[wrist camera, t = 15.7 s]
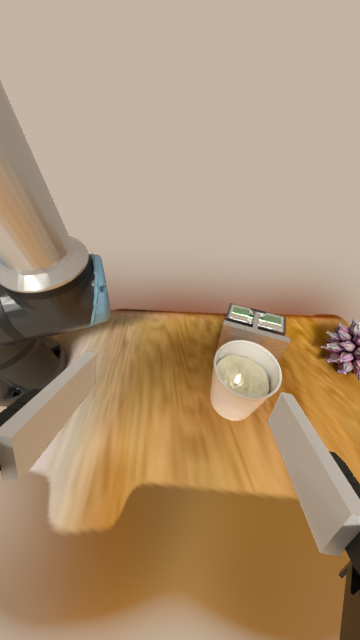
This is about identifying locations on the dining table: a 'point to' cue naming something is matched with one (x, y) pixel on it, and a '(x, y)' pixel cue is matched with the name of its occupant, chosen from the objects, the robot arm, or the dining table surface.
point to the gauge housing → (266, 323)
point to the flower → (345, 348)
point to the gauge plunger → (254, 335)
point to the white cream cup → (243, 379)
